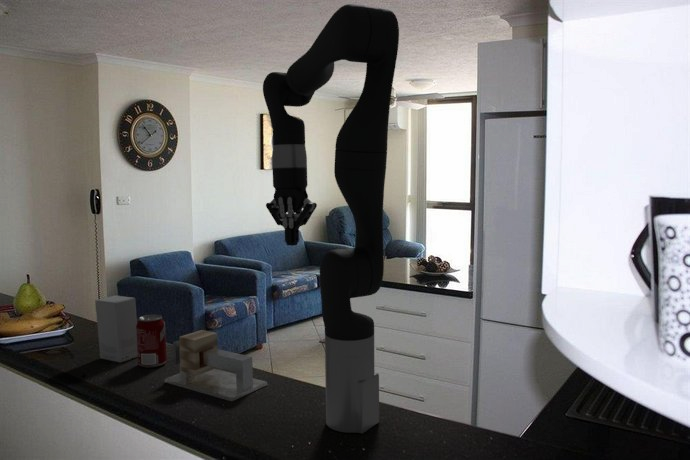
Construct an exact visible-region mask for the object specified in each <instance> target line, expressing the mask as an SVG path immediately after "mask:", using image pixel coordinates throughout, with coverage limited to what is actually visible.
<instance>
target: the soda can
mask: <svg viewBox="0 0 690 460" xmlns="http://www.w3.org/2000/svg"><path fill="white" fill-rule="evenodd" d="M136 331H137V352H138V357H137V364H138V365H139V366H141V367H142V368H144V367H145V369H154V368H159V367H161V366H163V365H164V364H165V363H167V360H168V359H167V358H168V357H167V339H166V338H167V334H166V322H165V321H164V319H163V315H161V314H146V315H142V316H140V317H138V321H137V325H136Z"/></svg>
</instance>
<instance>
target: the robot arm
mask: <svg viewBox="0 0 690 460" xmlns="http://www.w3.org/2000/svg"><path fill="white" fill-rule="evenodd" d="M399 40H400V27H399V21H398V18H397V15H396V14H395V12H393V11H392V10H391V9H387V8H383V7H375V6H369V5H363V4H354V3H351V4H350V3H348V4H344V5H342V6H340V7H339V8H338V9H337V10H336V11H335V12H334V13H333V14H332V16H331V17H330V18H329V20H328V21H327V22H326V24H325V26H324V27H323V28H322V29H321V31H320V32H319V34H318V36H317V37H316V39H315V40H314V42H313V43H312V45H311V47H310V48H309V49H308V50H307V51H306V52H305V53H304V54H303V55H301V56H300V57H299V58H298V59H297V60H295V61H294V62H293V63H292V64H290V66H289V67H288V69H287V71H286V72H281V71H271V72H270V73H268V74H267V75H266V76H265V77H264V81H263V83H262V94H263V98H264V101H265V105H266V107H267V111H268V115H269V119H270V122H271V128H272V129H271V130H272V155H271V157H272V158H271V160H272V162H271V163H272V188H274V194H273V199H272V200H271V201H270V202H266V204H265V207H266V209H267V211H268V212H269V213H270V215H271V217H272V218H273V220H274V221H275V223H276V225H278V226H281V227H283V229H284V242H285V243H286V246H292V247H293V246H297V245H298V243H299V241H300V230H299V229H300V227H302V226H305V225H307V224H308V222H309V220H310V218H311V217H312V215H313V213H314V212H315V210H316V209H317V206H318V205H317V203H316V202H312V201H311V200H310V199H309V194H308V191H307V187H308V157H307V150H306V128H305V127H306V126H305V122H304V120H303V119H302V118H299V117H297V116H293V115H290V114H289V113H288V112H287V110H286V108H285V107H296V108H297V107H298V108H299V107H303V106H306V105H308V104H309V103H310V102H311V101H312V98H313V96H314V95H315V93H316V91H318V90H319V89H320V88H322V87H323V86H325V85H326V84H327V83H328V82H329V81H330V80H331V78H332V77H333V74H334V73H335V72H334V71H335V63H336V62H339V61H344V60H345V61H347V62H351V63H361V64H366V68H365V69H366V70H365V77H364V83H363V88H362V91H361V94H360V96H359V98H358V100H357V102H356V103H355V105H354V107H353V109H352V110H351V111H350V113H349V114H348V115H347V118H345V120H344V122H343V124H342V125H341V127H340V129H339V132H338V134H337V136H336V140H335V147H334V148H335V150H334V151H335V152H334V167H333V168H334V178H335V182H336V184H337V187H338V189H339V191H340V193H341V195H342V197H343V199H344V201H345V202H346V204H347V206H348V208H349V210H350V212H351V214H352V217H353V220H354V224H355V225H354V226H355V246H354V247H347V248H335V249H330V250H328V251H326V252H325V253H324V254H323V256H322V257H321V259H320V264H319V288H320V303H321V317H322V321H323V325H324V360H325V361H324V364H325V365H324V369H325V372H324V373H325V379H324V380H325V381H324V382H325V423H326V424H325V425H326V426H327V427H328V428H329V429H331V430H334V431H335V432H336V431H337V432H340V433H348V434H349V433H359V434H365V432H367V431H369V430H370V429H371V428H373V427H374V426H376V425H377V424H379V422H380V375H379V373H377V372H375V322H374V319H373V318H372V317H370V316H369V315H367V314H363V313H360V312H356V311H353V310H352V303H351V299H354V298H362V297H367V296H373V295H375V294H376V293H378V291H379V290H380V289H381V286H382V283H383V280H384V279H383V278H384V272H385V271H384V267H385V260H384V259H385V255H384V253H385V252H384V227H383V226H384V222H383V221H384V216H383V215H384V197H385V196H384V195H385V183H386V174H387V173H386V171H387V159H388V134H389V132H388V131H389V123H390V122H389V120H390V106H391V98H392V89H393V84H394V83H393V82H394V78H395V77H394V76H395V70H396V66H397V65H396V64H397V57H398V51H399Z"/></svg>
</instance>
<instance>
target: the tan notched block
mask: <svg viewBox="0 0 690 460" xmlns="http://www.w3.org/2000/svg"><path fill="white" fill-rule="evenodd" d="M178 339H179V340H178V341H179V344H180V363H179V369H180V368H181V372H184V373H187V374H191V375H195V376H197V375H199V374H202V373H204V372H207V371H210V370H212V369H216V368H215V367H211V366H207V365H203V364H200V362H199V352H201V351H204V350H206V349H209V348H215V349H219V346H218V343H219V342H218V332H213V331H209V330H204V329H200V330H198V331H194V332H193V331H192V332H191V333H187V334H184V335H180V336H179V337H178Z"/></svg>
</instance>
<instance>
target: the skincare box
mask: <svg viewBox="0 0 690 460" xmlns="http://www.w3.org/2000/svg"><path fill="white" fill-rule="evenodd" d="M94 302H95V304H94V305H95V312H96V314H95V315H96V322H97V334H98V335H97V336H98V345H99V356H100V359H102V360H107V361H110V362H111V361H112V362H115V363H119V364H120V363H123V362H127V361H130V360H132V358H133V359H135V358H138V352H137V331H136V325H137V323H138V317H137V305H136V297H131V296H130V297H129V296H122V295H116V294H115V295H112V296H107V297H105V298H104V297H103V298H100V299H96V300H94Z"/></svg>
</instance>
